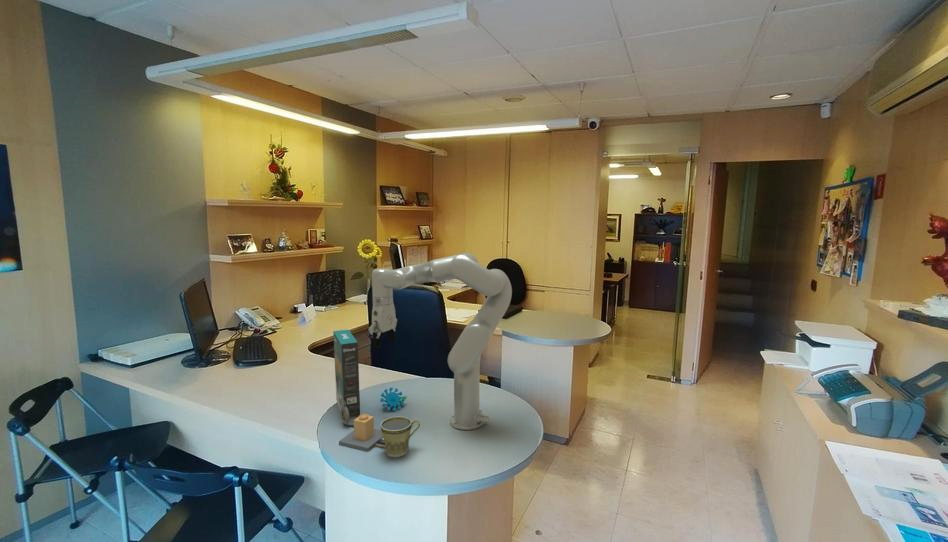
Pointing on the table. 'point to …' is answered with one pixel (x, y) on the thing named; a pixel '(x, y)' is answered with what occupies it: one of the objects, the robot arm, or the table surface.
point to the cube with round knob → (363, 427)
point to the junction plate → (362, 444)
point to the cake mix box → (347, 371)
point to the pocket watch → (347, 416)
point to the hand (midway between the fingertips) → (384, 344)
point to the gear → (392, 399)
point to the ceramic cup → (397, 434)
